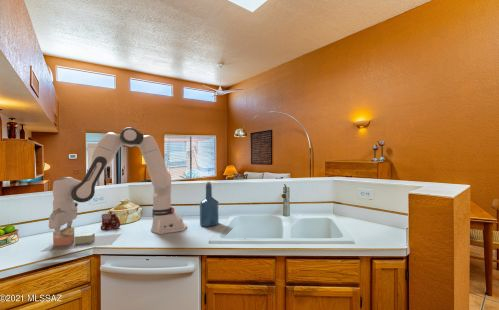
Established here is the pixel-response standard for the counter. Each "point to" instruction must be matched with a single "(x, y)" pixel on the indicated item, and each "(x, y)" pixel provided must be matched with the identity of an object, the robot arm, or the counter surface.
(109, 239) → the white flat board
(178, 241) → the counter surface
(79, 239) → the sage brick
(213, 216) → the wine bottle
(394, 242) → the counter surface
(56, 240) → the terracotta brick
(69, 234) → the maple brick
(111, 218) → the dark brown lump
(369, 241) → the counter surface
